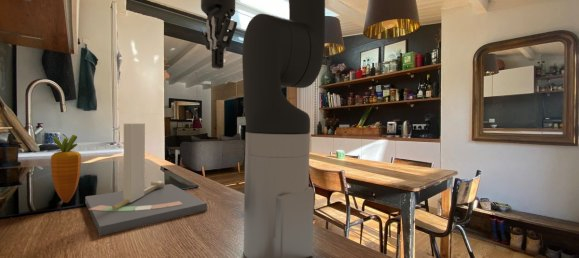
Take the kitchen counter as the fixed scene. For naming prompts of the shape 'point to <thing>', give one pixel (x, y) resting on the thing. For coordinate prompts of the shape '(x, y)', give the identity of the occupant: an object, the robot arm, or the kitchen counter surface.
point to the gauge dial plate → (141, 208)
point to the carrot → (66, 168)
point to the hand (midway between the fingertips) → (217, 67)
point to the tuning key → (135, 165)
